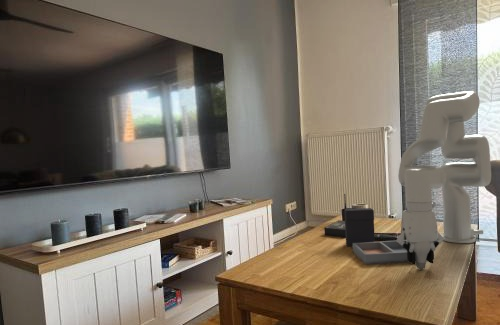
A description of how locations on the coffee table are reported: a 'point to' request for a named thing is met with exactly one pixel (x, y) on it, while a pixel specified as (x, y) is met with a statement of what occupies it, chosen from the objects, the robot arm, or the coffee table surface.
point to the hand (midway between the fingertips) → (420, 261)
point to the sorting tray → (380, 252)
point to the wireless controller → (336, 227)
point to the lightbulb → (421, 253)
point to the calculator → (359, 226)
